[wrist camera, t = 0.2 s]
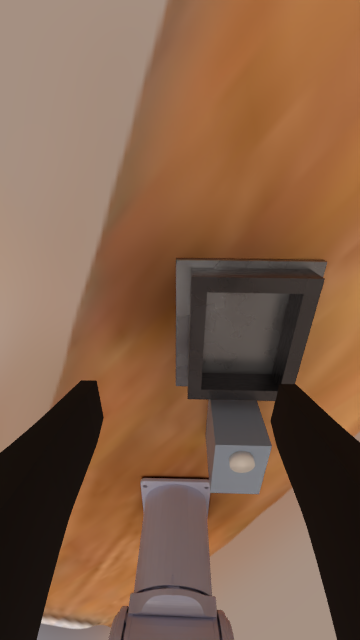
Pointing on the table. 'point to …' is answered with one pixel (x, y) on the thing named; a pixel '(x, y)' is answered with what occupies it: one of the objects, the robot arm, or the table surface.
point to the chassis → (243, 324)
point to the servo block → (236, 446)
